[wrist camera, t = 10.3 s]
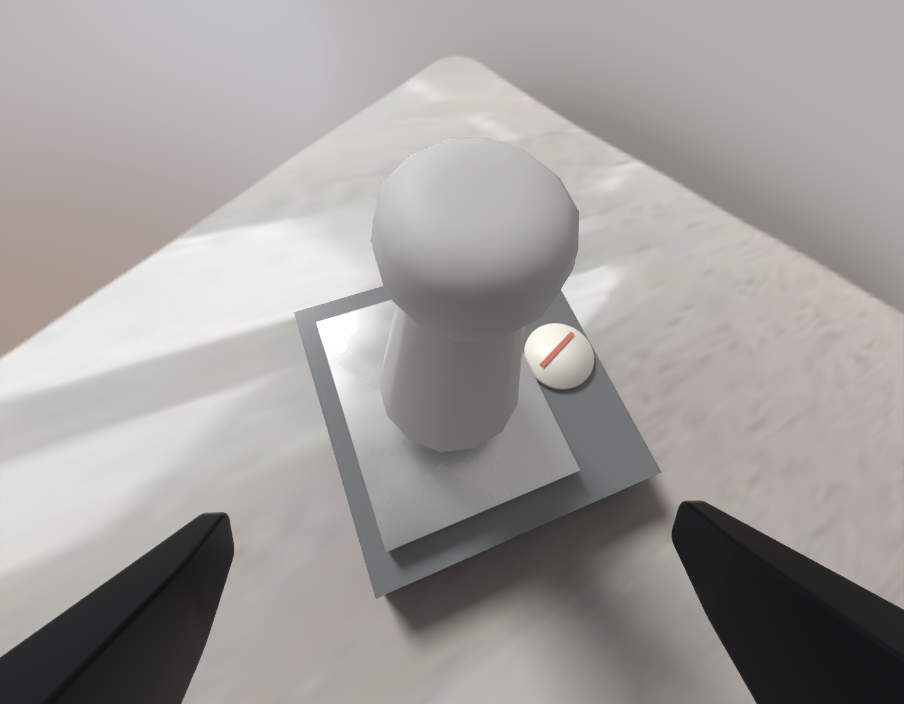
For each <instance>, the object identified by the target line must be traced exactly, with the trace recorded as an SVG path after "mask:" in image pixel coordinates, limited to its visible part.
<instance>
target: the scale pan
mask: <svg viewBox="0 0 904 704" xmlns="http://www.w3.org/2000/svg"><path fill="white" fill-rule="evenodd" d="M395 306H396V304H395V303H394V302H393V301H392V300H389V301H385V302H382V303H379V304H375V305H372V306H369V307H365V308H362V309H359V310H355V311H352V312H349V313H346V314H342V315H339V316H336V317H332V318H329V319H326V320H322V321H319V322H316V323H317V326H318V330H319V333H320V336H321V340H322V343H323V346H324V349H325V353H326V356H327V359H328V363H329V366H330V369H331V373H332V376H333V379H334V382H335V386H336V389H337V392H338V396H339V399H340V402H341V406H342V409H343V412H344V415H345V419H346V422H347V425H348V429H349V432H350V435H351V439H352V442H353V445H354V448H355V452H356V455H357V458H358V462H359V465H360V468H361V472H362V475H363V478H364V481H365V485H366V488H367V491H368V495H369V498H370V501H371V505H372V508H373V511H374V515H375V518H376V521H377V524H378V528H379V531H380V534H381V538H382V541H383V544H384V548H385V551H386V552H388V551H390V550H393V549H395V548H397V547H400V546H402V545H404V544H407V543H409V542H411V541H414V540H416V539H419V538H421V537H423V536H426V535H428V534H430V533H433V532H435V531H438V530H440V529H442V528H445V527H447V526H449V525H452V524H454V523H457V522H459V521H461V520H464V519H466V518H468V517H471V516H473V515H475V514H478V513H480V512H483V511H485V510H487V509H490V508H492V507H494V506H497V505H499V504H502V503H504V502H506V501H509V500H511V499H513V498H516V497H518V496H521V495H523V494H525V493H528V492H530V491H532V490H535V489H537V488H539V487H542V486H544V485H547V484H549V483H551V482H554V481H556V480H558V479H561V478H563V477H566V476H568V475H570V474H573V473H575V472H577V471H580V469H579V467H578V465H577V463H576V461H575V459H574V457H573V455H572V453H571V450H570V448H569V446H568V444H567V442H566V440H565V438H564V436H563V434H562V432H561V430H560V428H559V426H558V424H557V422H556V420H555V417H554V415H553V413H552V411H551V409H550V407H549V405H548V403H547V401H546V399H545V397H544V395H543V393H542V391H541V389H540V386H539V384H538V382H537V380H536V378H535V376H534V374H533V372H532V370H531V368H530V366H529V364H528V362H527V360H526V358H525V356H524V353H523V351H522V361H521V370H520V381H519V392H518V403H517V407H516V408H515V410H514V412H513V414H512V415H511V417H510V419H509V421H508V422H507V424H506V426H505V428H504V429H503V431H502V432H501V433H499V434H498V435H496V436H494V437H493V438H491V439H489V440H487V441H486V442H484V443H482V444H481V445H479V446H477V447H476V448H473V449H465V450H456V451H447V452H439V451H436V450H434V449H431V448H428V447H426V446H423V445H421V444H418V443H416V442H413V441H411V440H409V439H408V438H407V437H406V436H405V434H404V433H403V432H402V431H401V430H400V429H399V428H398V427H397V426H396V425H395V424H394V423H393V422H392V421H391V420H390V419H389V418H388V416H387V414H386V410H385V407H384V403H383V400H382V396H381V392H380V389H379V382H380V377H381V372H382V367H383V362H384V357H385V352H386V347H387V343H388V338H389V334H390V329H391V324H392V320H393V315H394V311H395Z"/></svg>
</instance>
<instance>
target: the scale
mask: <svg viewBox="0 0 904 704" xmlns="http://www.w3.org/2000/svg"><path fill="white" fill-rule="evenodd" d="M389 300H391V299H390V298H389V297H388V296H387V295H386V292H385V288H384V286H382V287H379V288H375V289H372V290H369V291H365V292H362V293H359V294H355V295H352V296H348V297H345V298H342V299H338V300H335V301H331V302H328V303H325V304H321V305H318V306H314V307H311V308H308V309H304V310H301V311H297V312H294V313H295V317H296V320H297V324H298V327H299V331H300V334H301V338H302V341H303V345H304V348H305V352H306V355H307V359H308V362H309V366H310V369H311V373H312V377H313V380H314V384H315V387H316V391H317V394H318V398H319V401H320V405H321V408H322V412H323V415H324V419H325V422H326V426H327V429H328V433H329V436H330V440H331V443H332V447H333V450H334V454H335V457H336V461H337V464H338V468H339V471H340V475H341V478H342V482H343V485H344V489H345V492H346V496H347V499H348V503H349V506H350V510H351V513H352V517H353V520H354V524H355V528H356V531H357V535H358V538H359V542H360V545H361V549H362V552H363V556H364V559H365V563H366V566H367V570H368V573H369V577H370V580H371V584H372V587H373V591H374V594H375V598H376V599H377V598H379V597H381V596H383V595H386V594H388V593H390V592H392V591H395V590H397V589H399V588H401V587H404V586H406V585H408V584H410V583H413V582H415V581H417V580H420V579H422V578H424V577H426V576H429V575H431V574H433V573H435V572H438V571H440V570H442V569H444V568H447V567H449V566H451V565H453V564H456V563H458V562H460V561H462V560H465V559H467V558H469V557H472V556H474V555H476V554H478V553H481V552H483V551H485V550H487V549H490V548H492V547H494V546H496V545H499V544H501V543H503V542H505V541H508V540H510V539H512V538H515V537H517V536H519V535H521V534H524V533H526V532H528V531H530V530H533V529H535V528H537V527H539V526H542V525H544V524H546V523H548V522H551V521H553V520H555V519H558V518H560V517H562V516H564V515H567V514H569V513H571V512H573V511H576V510H578V509H580V508H582V507H585V506H587V505H589V504H591V503H594V502H596V501H598V500H600V499H603V498H605V497H607V496H610V495H612V494H614V493H616V492H619V491H621V490H623V489H625V488H628V487H630V486H632V485H634V484H637V483H639V482H641V481H643V480H646V479H648V478H650V477H653V476H655V475H657V474H659V473H661V471H660V469H659V467H658V465H657V464H656V462H655V460H654V458H653V456H652V455H651V453H650V451H649V449H648V447H647V445H646V444H645V442H644V440H643V438H642V436H641V435H640V433H639V431H638V429H637V427H636V425H635V424H634V422H633V420H632V418H631V416H630V415H629V413H628V411H627V409H626V407H625V406H624V404H623V402H622V400H621V398H620V396H619V395H618V393H617V391H616V389H615V387H614V386H613V384H612V382H611V380H610V378H609V376H608V375H607V373H606V371H605V369H604V367H603V366H602V364H601V362H600V360H599V358H598V357H597V355H596V353H595V351H594V349H593V347H592V346H591V344H590V342H589V340H588V338H587V337H586V335H585V333H584V331H583V329H582V327H581V326H580V324H579V322H578V320H577V318H576V317H575V315H574V313H573V311H572V309H571V308H570V306H569V304H568V302H567V300H566V298H565V297H564V295H563V293H562V291H561V290H560V291H559V293H558V294H557V296H556V298H555V299H554V301H553V303H552V304H551V305H550V307H549V308H548V309H547V311H546V312H545V313H544V315H543V316H542V317H541V318H539V319H537V320H535V321H533V322H532V323H530V324H528V325H526V326H525V331H524V341H523V353H524V356H525V358H526V360H527V362H528V364H529V366H530V368H531V370H532V372H533V374H534V376H535V378H536V380H537V382H538V384H539V386H540V389H541V391H542V393H543V395H544V397H545V399H546V401H547V403H548V405H549V407H550V409H551V411H552V413H553V415H554V417H555V420H556V422H557V424H558V426H559V428H560V430H561V432H562V434H563V436H564V438H565V440H566V442H567V444H568V446H569V448H570V450H571V453H572V455H573V457H574V459H575V461H576V463H577V465H578V467H579V469H580V471H577V472H575V473H573V474H570V475H568V476H566V477H563V478H561V479H558V480H556V481H554V482H551V483H549V484H547V485H544V486H542V487H539V488H537V489H535V490H532V491H530V492H528V493H525V494H523V495H521V496H518V497H516V498H513V499H511V500H509V501H506V502H504V503H502V504H499V505H497V506H494V507H492V508H490V509H487V510H485V511H483V512H480V513H478V514H475V515H473V516H471V517H468V518H466V519H464V520H461V521H459V522H457V523H454V524H452V525H449V526H447V527H445V528H442V529H440V530H438V531H435V532H433V533H430V534H428V535H426V536H423V537H421V538H419V539H416V540H414V541H411V542H409V543H407V544H404V545H402V546H400V547H397V548H395V549H393V550H390V551H388V552H386V551H385V548H384V544H383V541H382V538H381V534H380V531H379V528H378V524H377V521H376V518H375V515H374V511H373V508H372V505H371V501H370V498H369V495H368V491H367V488H366V485H365V481H364V478H363V475H362V472H361V468H360V465H359V462H358V458H357V455H356V452H355V448H354V445H353V442H352V439H351V435H350V432H349V429H348V425H347V422H346V419H345V415H344V412H343V409H342V406H341V402H340V399H339V396H338V392H337V389H336V386H335V382H334V379H333V376H332V373H331V369H330V366H329V363H328V359H327V356H326V353H325V349H324V346H323V343H322V340H321V336H320V333H319V330H318V326H317V323H316V322H319V321H322V320H326V319H329V318H332V317H336V316H339V315H342V314H346V313H349V312H352V311H355V310H359V309H362V308H365V307H369V306H372V305H375V304H379V303H382V302H385V301H389Z"/></svg>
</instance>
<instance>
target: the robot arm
mask: <svg viewBox="0 0 904 704" xmlns="http://www.w3.org/2000/svg"><path fill="white" fill-rule="evenodd" d="M672 541H673V544H674V546H675V549H676V551H677V553H678V555H679V557H680V559H681V562H682V564H683V566H684V568H685V570H686V572H687V574H688V577H689V579H690V581H691V583H692V585H693V587H694V590H695V592H696V594H697V596H698V598H699V600H700V602H701V605H702V607H703V609H704V611H705V613H706V615H707V617H708V619H709V621H710V622H711V624H712V626H713V628H714V630H715V632H716V633H717V635H718V637H719V639H720V640H721V642H722V644H723V646H724V647H725V649H726V651H727V653H728V654H729V656H730V658H731V659H732V661H733V663H734V665H735V666H736V668H737V670H738V672H739V673H740V675H741V677H742V679H743V680H744V682H745V684H746V686H747V687H748V689H749V691H750V693H751V694H752V696H753V698H754V700H755V701H756V703H757V704H904V610H903V609H902V608H900V607H898V606H896V605H894V604H892V603H890V602H889V601H887V600H885V599H883V598H881V597H879V596H878V595H876V594H874V593H872V592H870V591H868V590H866V589H865V588H863V587H861V586H859V585H857V584H855V583H854V582H852V581H850V580H848V579H846V578H844V577H843V576H841V575H839V574H837V573H835V572H833V571H831V570H830V569H828V568H826V567H824V566H822V565H820V564H819V563H817V562H815V561H813V560H811V559H809V558H808V557H806V556H804V555H802V554H800V553H798V552H796V551H795V550H793V549H791V548H789V547H787V546H785V545H784V544H782V543H780V542H778V541H776V540H774V539H773V538H771V537H769V536H767V535H765V534H763V533H761V532H760V531H758V530H756V529H754V528H752V527H750V526H749V525H747V524H745V523H743V522H741V521H739V520H738V519H736V518H734V517H732V516H730V515H728V514H727V513H725V512H723V511H721V510H719V509H717V508H715V507H714V506H712V505H710V504H708V503H706V502H704V501H699V500H698V501H684V502H682V503H681V504H680V505H679V508H678V512H677V515H676V518H675V522H674V525H673V529H672ZM233 555H234V543H233V537H232V531H231V525H230V519H229V516H228V515H227V514H226V513H224V512H215V513H203V514H201V515H199V516H198V517H197V518H195V519H194V520H192V521H191V522H190V523H188V524H187V525H185V526H184V527H182V528H181V529H180V530H178V531H177V532H175V533H174V534H173V535H171V536H170V537H168V538H167V539H166V540H164V541H163V542H161V543H160V544H159V545H157V546H156V547H154V548H153V549H152V550H150V551H149V552H147V553H146V554H145V555H143V556H142V557H140V558H139V559H138V560H136V561H135V562H133V563H132V564H131V565H129V566H128V567H126V568H125V569H124V570H122V571H121V572H119V573H118V574H117V575H115V576H114V577H112V578H111V579H110V580H108V581H107V582H105V583H104V584H103V585H101V586H100V587H98V588H97V589H95V590H94V591H93V592H91V593H90V594H88V595H87V596H86V597H84V598H83V599H81V600H80V601H79V602H77V603H76V604H74V605H73V606H72V607H70V608H69V609H67V610H66V611H65V612H63V613H62V614H60V615H59V616H58V617H56V618H55V619H53V620H52V621H51V622H49V623H48V624H46V625H45V626H44V627H42V628H41V629H39V630H38V631H37V632H35V633H34V634H32V635H31V636H30V637H28V638H27V639H25V640H24V641H23V642H21V643H20V644H18V645H17V646H15V647H14V648H13V649H11V650H10V651H8V652H7V653H6V654H4V655H3V656H1V657H0V704H181V703H182V700H183V698H184V696H185V693H186V691H187V689H188V686H189V684H190V682H191V679H192V677H193V675H194V672H195V670H196V668H197V665H198V663H199V660H200V658H201V655H202V653H203V650H204V648H205V645H206V642H207V639H208V636H209V633H210V630H211V627H212V624H213V621H214V618H215V614H216V611H217V608H218V605H219V602H220V598H221V595H222V592H223V589H224V586H225V583H226V579H227V576H228V573H229V570H230V567H231V563H232V560H233Z"/></svg>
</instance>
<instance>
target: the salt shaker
mask: <svg viewBox="0 0 904 704" xmlns="http://www.w3.org/2000/svg"><path fill="white" fill-rule="evenodd" d="M578 231H579V211H578V209H577V208H576V206H575V204H574V202H573V200H572V199H571V197H570V195H569V193H568V192H567V190H566V188H565V186H564V185H563V183H562V181H561V179H560V178H559V177H558V176H557V175H556V174H554V173H553V172H552V171H551V170H550V169H548V168H547V167H546V166H545V165H543V164H542V163H541V162H539V161H538V160H537V159H536V158H534V157H533V156H532V155H530V154H529V153H528V152H527V151H525V150H524V149H522V148H519V147H515V146H512V145H509V144H506V143H502V142H499V141H496V140H493V139H489V138H451V139H448V140H446V141H443V142H441V143H438V144H436V145H433V146H431V147H428V148H426V149H423V150H421V151H418V152H416V153H414V154H412V155H410V156H408V157H407V158H406V159H405V160H404V161H403V162H402V163H401V164H400V165H399V166H398V167H397V168H396V169H395V170H394V171H393V172H392V173H391V174H390V175H389V176H388V177H387V179H386V180H385V181H384V182H383V183H382V184H381V188H380V192H379V197H378V201H377V205H376V210H375V214H374V218H373V226H372V236H371V243H372V247H373V251H374V255H375V258H376V262H377V265H378V268H379V272H380V275H381V278H382V282H383V285H384V288H385V292H386V295H387V296H388V297H389V298H390V299H391V300H392V301H393V302H394V303H395V304H396V306H395V311H394V315H393V320H392V324H391V329H390V334H389V338H388V343H387V347H386V352H385V357H384V362H383V367H382V372H381V377H380V382H379V389H380V392H381V396H382V400H383V403H384V407H385V410H386V414H387V416H388V418H389V419H390V420H391V421H392V422H393V423H394V424H395V425H396V426H397V427H398V428H399V429H400V430H401V431H402V432H403V433H404V434H405V436H406V437H407V438H408V439H409V440H411V441H413V442H416V443H418V444H421V445H423V446H426V447H428V448H431V449H434V450H436V451H439V452H447V451H456V450H465V449H473V448H476V447H477V446H479V445H481V444H482V443H484V442H486V441H487V440H489V439H491V438H493V437H494V436H496V435H498V434H499V433H501V432H502V431H503V429H504V428H505V426H506V424H507V422H508V421H509V419H510V417H511V415H512V414H513V412H514V410H515V408H516V407H517V403H518V392H519V381H520V370H521V361H522V351H523V341H524V331H525V326H526V325H528V324H530V323H532V322H533V321H535V320H537V319H539V318H541V317H542V316H543V315H544V313H545V312H546V311H547V309H548V308H549V307H550V305H551V304H552V303H553V301H554V299H555V298H556V296H557V294H558V293H559V291H560V290H561V288H562V286H563V285H564V283H565V281H566V280H567V278H568V277H569V275H570V273H571V272H572V270H573V267H574V263H575V259H576V255H577V251H578Z"/></svg>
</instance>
